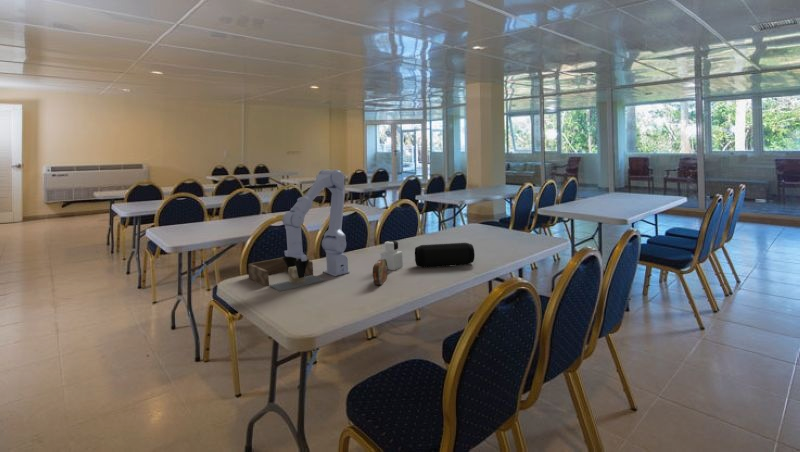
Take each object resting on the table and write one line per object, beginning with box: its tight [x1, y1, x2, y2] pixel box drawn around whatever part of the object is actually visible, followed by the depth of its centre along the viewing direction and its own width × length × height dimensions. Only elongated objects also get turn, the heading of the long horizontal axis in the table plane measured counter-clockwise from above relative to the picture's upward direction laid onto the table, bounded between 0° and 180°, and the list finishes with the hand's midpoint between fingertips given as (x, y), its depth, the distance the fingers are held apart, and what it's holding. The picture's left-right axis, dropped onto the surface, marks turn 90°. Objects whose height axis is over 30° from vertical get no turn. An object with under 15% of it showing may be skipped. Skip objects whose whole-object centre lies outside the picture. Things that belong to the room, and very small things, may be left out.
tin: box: [372, 258, 389, 286], centre depth 173 cm, size 15×3×8 cm, turn 168°
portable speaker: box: [414, 242, 476, 268], centre depth 195 cm, size 26×10×10 cm, turn 98°
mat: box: [269, 274, 325, 292], centre depth 174 cm, size 9×19×1 cm, turn 132°
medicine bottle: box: [380, 240, 404, 271], centre depth 193 cm, size 7×7×12 cm
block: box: [287, 266, 306, 285], centre depth 173 cm, size 4×4×6 cm
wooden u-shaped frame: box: [247, 256, 314, 287], centre depth 184 cm, size 17×21×6 cm
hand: (296, 275), depth 173 cm, fingers open, 7 cm apart
